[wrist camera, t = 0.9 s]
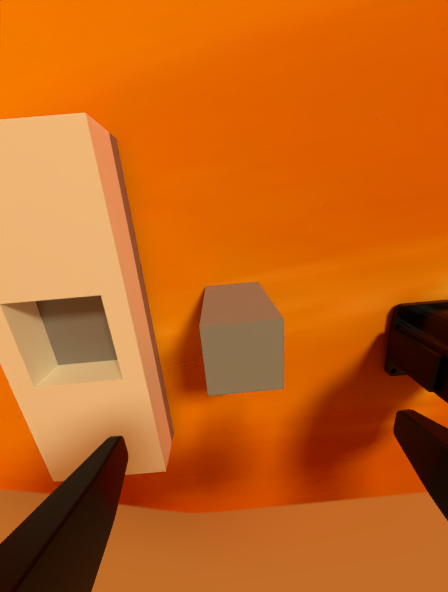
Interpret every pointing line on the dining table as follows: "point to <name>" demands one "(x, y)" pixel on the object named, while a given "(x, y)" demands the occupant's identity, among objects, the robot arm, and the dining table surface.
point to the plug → (241, 340)
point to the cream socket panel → (76, 297)
